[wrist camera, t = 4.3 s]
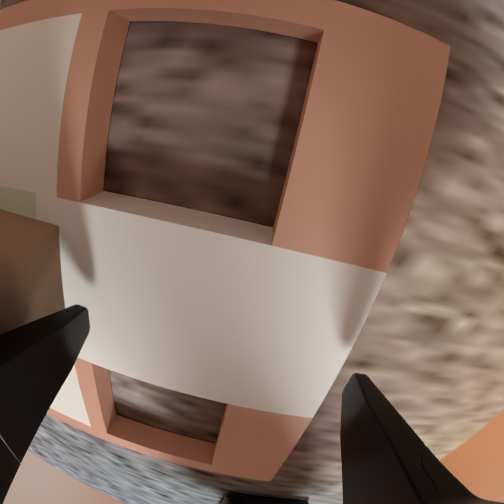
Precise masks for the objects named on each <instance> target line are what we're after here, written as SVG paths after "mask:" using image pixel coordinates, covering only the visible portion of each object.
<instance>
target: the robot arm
mask: <svg viewBox="0 0 504 504" xmlns="http://www.w3.org/2000/svg"><path fill="white" fill-rule="evenodd" d="M89 331H90V322H89V312H88V309H87V308H86V307H84V306H81V305H78V304H76V305H73V306H70V307H68V308H65V309H63V310H60V311H57V312H55V313H52V314H50V315H47V316H45V317H42V318H40V319H37V320H35V321H32V322H30V323H27V324H25V325H22V326H20V327H17V328H15V329H12V330H10V331H7V332H5V333H2V334H0V504H3V501H4V499H5V496H6V494H7V492H8V490H9V487H10V485H11V483H12V481H13V479H14V477H15V475H16V472H17V470H18V468H19V466H20V463H21V461H22V460H23V457H24V456H25V453H26V451H27V450H28V448H29V446H30V444H31V442H32V440H33V438H34V436H35V434H36V432H37V430H38V428H39V426H40V425H41V423H42V421H43V419H44V417H45V415H46V413H47V412H48V410H49V408H50V406H51V404H52V403H53V401H54V399H55V397H56V396H57V394H58V392H59V390H60V389H61V387H62V385H63V384H64V382H65V380H66V379H67V377H68V375H69V373H70V372H71V370H72V368H73V366H74V364H75V362H76V360H77V357H78V355H79V353H80V351H81V349H82V347H83V345H84V342H85V340H86V338H87V336H88V334H89ZM340 441H341V459H342V482H343V504H504V503H500V502H494V501H488V500H484V499H481V498H479V497H477V496H475V495H474V494H472V493H471V492H470V491H469V490H468V489H467V488H466V487H465V486H464V485H463V484H462V483H461V482H459V481H458V479H456V478H455V477H454V476H453V475H452V474H451V473H450V472H449V471H448V470H447V469H446V468H445V466H444V465H443V464H442V463H441V462H440V461H439V460H438V459H437V458H436V457H435V456H434V454H433V453H432V452H431V451H430V450H429V448H428V447H427V446H425V444H424V443H423V441H422V440H421V439H420V438H419V437H418V435H417V434H416V433H415V432H414V431H413V430H412V428H411V427H410V426H409V425H408V424H407V422H406V421H405V420H404V419H403V418H402V416H401V415H400V414H399V413H398V412H397V411H396V409H395V408H394V407H393V406H392V405H391V403H390V402H389V401H388V400H387V399H386V398H385V396H384V395H383V394H382V393H381V392H380V390H379V389H378V388H377V387H376V386H375V385H374V383H373V382H372V381H371V380H370V379H369V377H368V376H367V375H365V374H359V373H354V374H353V375H352V376H351V378H350V380H349V381H348V383H347V385H346V386H345V388H344V390H343V393H342V409H341V429H340ZM221 504H309V503H308V502H304V501H289V500H277V499H267V498H259V497H251V496H245V495H238V494H231V493H229V494H226V495H225V497H224V499H223V501H222V503H221Z"/></svg>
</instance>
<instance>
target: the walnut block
mask: <svg viewBox="0 0 504 504" xmlns="http://www.w3.org/2000/svg"><path fill="white" fill-rule="evenodd" d="M63 309H65V302H64V294H63V285H62V274H61V261H60V243H59V226H58V225H54V224H51V223H47V222H44V221H40V220H37V219H33V218H30V217H26V216H23V215H19V214H16V213H12V212H9V211H5V210H2V209H0V334H2V333H5V332H7V331H10V330H12V329H15V328H17V327H20V326H22V325H25V324H27V323H30V322H32V321H35V320H37V319H40V318H42V317H45V316H47V315H50V314H52V313H55V312H57V311H60V310H63Z"/></svg>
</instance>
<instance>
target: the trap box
mask: <svg viewBox="0 0 504 504" xmlns="http://www.w3.org/2000/svg"><path fill="white" fill-rule="evenodd" d="M130 21H175V22H193V23H206V24H216V25H225V26H233V27H241V28H248V29H254V30H260V31H266V32H271V33H276V34H281V35H286V36H291V37H295V38H300V39H304V40H308V41H312V42H316V43H318V44H317V48H316V53H315V57H314V62H313V66H312V70H311V74H310V79H309V83H308V87H307V91H306V96H305V100H304V104H303V108H302V113H301V117H300V121H299V125H298V129H297V133H296V137H295V142H294V146H293V150H292V154H291V158H290V162H289V166H288V170H287V174H286V178H285V182H284V186H283V190H282V195H281V199H280V203H279V207H278V211H277V215H276V218H275V222H274V226H273V227H269V226H265V225H261V224H256V223H252V222H248V221H243V220H239V219H234V218H230V217H226V216H221V215H217V214H212V213H208V212H203V211H198V210H194V209H189V208H185V207H180V206H175V205H171V204H166V203H161V202H156V201H152V200H147V199H142V198H137V197H132V196H127V195H122V194H117V193H112V192H107V191H103V185H104V172H105V161H106V151H107V142H108V134H109V126H110V119H111V112H112V105H113V99H114V93H115V88H116V82H117V77H118V72H119V67H120V62H121V58H122V53H123V49H124V45H125V41H126V37H127V33H128V29H129V25H130ZM450 48H451V46H449V45H447V44H445V43H443V42H441V41H439V40H437V39H435V38H433V37H431V36H429V35H427V34H425V33H423V32H421V31H419V30H416V29H414V28H412V27H409V26H407V25H405V24H402V23H400V22H398V21H395V20H393V19H390V18H387V17H385V16H382V15H379V14H377V13H374V12H371V11H368V10H365V9H362V8H359V7H356V6H353V5H350V4H346V3H343V2H340V1H336V0H27V1H23V2H20V3H17V4H14V5H11V6H8V7H5V8H2V9H0V209H2V210H5V211H9V212H12V213H16V214H19V215H23V216H26V217H30V218H33V219H37V220H40V221H44V222H47V223H51V224H54V225H58V226H59V243H60V261H61V274H62V285H63V294H64V302H65V308H68V307H70V306H73V305H76V304H78V305H81V306H84V307H86V308H87V309H88V312H89V322H90V331H89V334H88V336H87V338H86V340H85V342H84V345H83V347H82V349H81V351H80V353H79V355H78V357H77V360H76V362H75V364H74V366H73V368H72V370H71V372H70V373H69V375H68V377H67V379H66V380H65V382H64V384H63V385H62V387H61V389H60V390H59V392H58V394H57V396H56V397H55V399H54V401H53V403H52V404H51V406H50V408H49V410H48V412H47V414H49V415H51V416H53V417H55V418H57V419H59V420H61V421H63V422H65V423H67V424H69V425H72V426H74V427H76V428H78V429H80V430H83V431H85V432H87V433H90V434H92V435H94V436H97V437H99V438H102V439H104V440H107V441H109V442H112V443H114V444H117V445H120V446H123V447H125V448H128V449H131V450H134V451H137V452H140V453H143V454H146V455H149V456H152V457H156V458H159V459H162V460H166V461H169V462H173V463H177V464H180V465H184V466H188V467H192V468H196V469H201V470H205V471H210V472H214V473H219V474H224V475H230V476H235V477H241V478H247V479H254V480H261V481H269V482H270V481H271V480H272V479H273V477H274V476H275V474H276V473H277V472H278V470H279V469H280V467H281V466H282V465H283V463H284V462H285V460H286V459H287V457H288V456H289V454H290V453H291V451H292V450H293V448H294V447H295V445H296V444H297V442H298V441H299V439H300V438H301V436H302V435H303V433H304V431H305V430H306V428H307V427H308V425H309V423H310V422H311V420H312V419H313V417H314V415H315V414H316V412H317V410H318V409H319V407H320V405H321V404H322V402H323V400H324V398H325V397H326V395H327V393H328V392H329V390H330V388H331V386H332V384H333V383H334V381H335V379H336V377H337V375H338V374H339V372H340V370H341V368H342V366H343V364H344V362H345V361H346V359H347V357H348V355H349V353H350V351H351V349H352V347H353V345H354V343H355V341H356V339H357V337H358V335H359V333H360V331H361V329H362V327H363V325H364V323H365V321H366V318H367V316H368V314H369V312H370V310H371V308H372V305H373V303H374V301H375V299H376V297H377V294H378V292H379V290H380V288H381V285H382V283H383V281H384V278H385V276H386V273H387V271H388V269H389V266H390V264H391V261H392V259H393V256H394V254H395V251H396V249H397V246H398V243H399V241H400V238H401V235H402V233H403V230H404V227H405V224H406V222H407V219H408V216H409V213H410V210H411V207H412V204H413V201H414V198H415V195H416V192H417V189H418V186H419V183H420V180H421V176H422V173H423V170H424V166H425V163H426V159H427V156H428V152H429V148H430V145H431V141H432V137H433V133H434V129H435V125H436V121H437V117H438V112H439V108H440V103H441V99H442V94H443V89H444V84H445V78H446V73H447V67H448V61H449V55H450ZM109 370H111V371H114V372H117V373H120V374H123V375H126V376H128V377H131V378H134V379H138V380H141V381H144V382H147V383H150V384H153V385H157V386H160V387H163V388H167V389H170V390H174V391H177V392H181V393H185V394H189V395H192V396H196V397H200V398H204V399H209V400H213V401H217V402H221V403H226V404H227V405H226V409H225V412H224V416H223V420H222V423H221V427H220V430H219V434H218V438H217V441H216V443H211V442H207V441H202V440H198V439H194V438H190V437H186V436H182V435H179V434H175V433H171V432H168V431H165V430H161V429H158V428H155V427H151V426H148V425H145V424H142V423H139V422H136V421H133V420H130V419H127V418H124V417H122V416H119V415H116V412H115V406H114V400H113V394H112V388H111V381H110V374H109Z"/></svg>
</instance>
